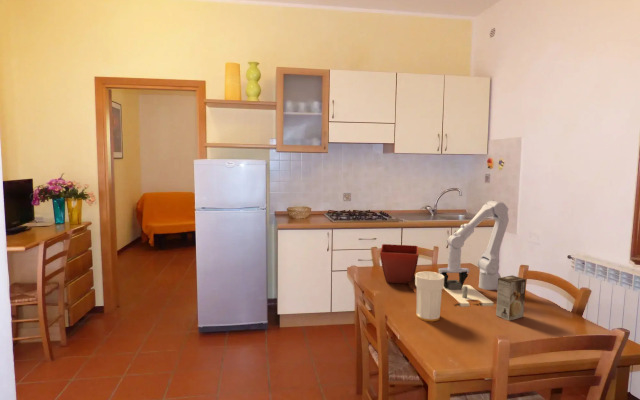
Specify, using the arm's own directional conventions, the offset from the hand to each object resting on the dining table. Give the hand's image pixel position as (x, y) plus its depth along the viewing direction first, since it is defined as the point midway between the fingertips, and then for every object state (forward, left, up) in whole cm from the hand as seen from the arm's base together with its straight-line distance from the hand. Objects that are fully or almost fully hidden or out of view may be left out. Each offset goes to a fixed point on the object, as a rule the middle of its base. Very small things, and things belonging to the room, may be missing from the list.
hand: (453, 287), depth 190 cm
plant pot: (+22, -18, -2) cm, 29 cm away
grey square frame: (0, 0, 0) cm, 0 cm away
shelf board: (-2, +8, -2) cm, 9 cm away
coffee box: (-11, +31, -2) cm, 33 cm away
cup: (+23, +30, -2) cm, 38 cm away
